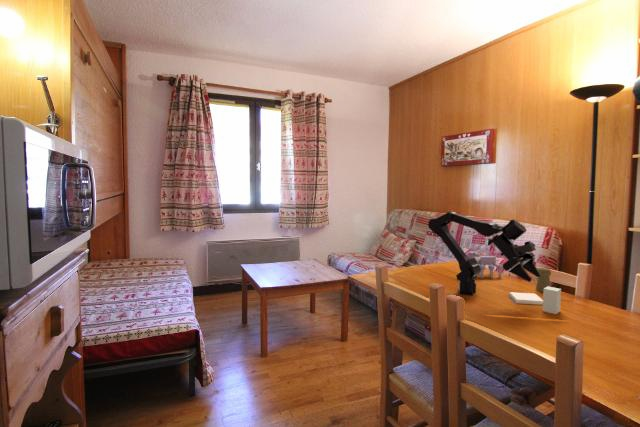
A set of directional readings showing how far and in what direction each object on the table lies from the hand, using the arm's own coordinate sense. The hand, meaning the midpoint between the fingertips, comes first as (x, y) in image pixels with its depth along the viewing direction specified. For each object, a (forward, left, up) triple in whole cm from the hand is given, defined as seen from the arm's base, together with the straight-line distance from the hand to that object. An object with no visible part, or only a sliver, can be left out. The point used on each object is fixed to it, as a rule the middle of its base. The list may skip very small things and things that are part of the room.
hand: (535, 278), depth 137 cm
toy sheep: (-10, +48, -12) cm, 51 cm away
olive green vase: (+12, +24, -12) cm, 30 cm away
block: (+5, -4, -12) cm, 14 cm away
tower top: (0, +8, -11) cm, 14 cm away
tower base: (0, +8, -13) cm, 15 cm away
